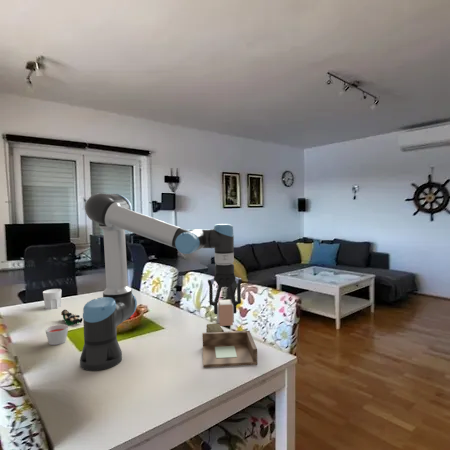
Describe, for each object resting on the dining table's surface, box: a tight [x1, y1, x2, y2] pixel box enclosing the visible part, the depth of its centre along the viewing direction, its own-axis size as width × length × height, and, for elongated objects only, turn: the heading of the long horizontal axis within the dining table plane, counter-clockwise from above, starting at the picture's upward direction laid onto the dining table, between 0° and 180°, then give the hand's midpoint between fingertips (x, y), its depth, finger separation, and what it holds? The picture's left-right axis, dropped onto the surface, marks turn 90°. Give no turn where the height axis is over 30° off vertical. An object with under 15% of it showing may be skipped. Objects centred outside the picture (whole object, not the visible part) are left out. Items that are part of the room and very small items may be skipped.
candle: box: [44, 324, 69, 346], centre depth 145 cm, size 9×9×6 cm
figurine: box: [61, 309, 83, 327], centre depth 170 cm, size 8×6×15 cm
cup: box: [42, 288, 62, 310], centre depth 196 cm, size 10×10×10 cm
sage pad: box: [215, 346, 237, 358], centre depth 130 cm, size 8×10×1 cm
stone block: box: [205, 322, 225, 333], centre depth 148 cm, size 6×12×5 cm, turn 18°
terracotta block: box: [217, 299, 234, 327], centre depth 129 cm, size 7×5×8 cm
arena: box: [202, 330, 258, 368], centre depth 130 cm, size 20×18×6 cm
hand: (225, 321), depth 129 cm, fingers closed on terracotta block, 5 cm apart
